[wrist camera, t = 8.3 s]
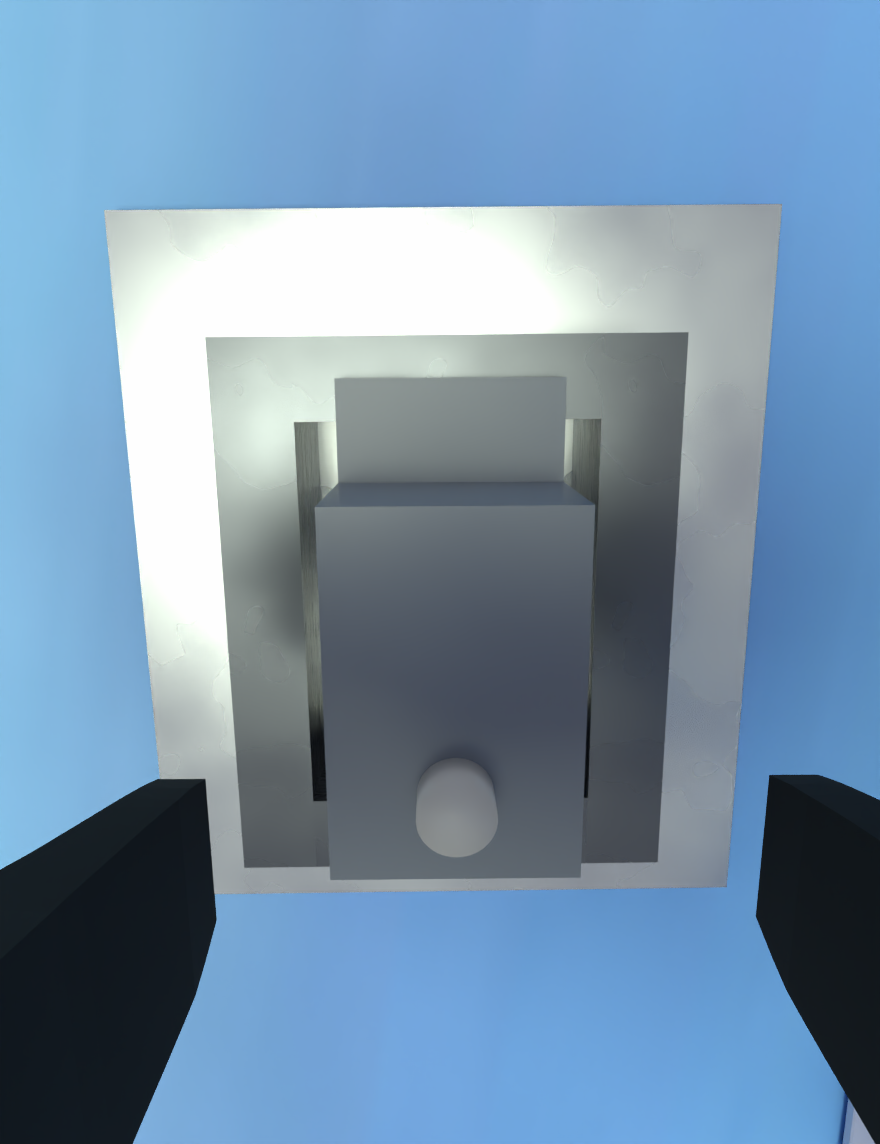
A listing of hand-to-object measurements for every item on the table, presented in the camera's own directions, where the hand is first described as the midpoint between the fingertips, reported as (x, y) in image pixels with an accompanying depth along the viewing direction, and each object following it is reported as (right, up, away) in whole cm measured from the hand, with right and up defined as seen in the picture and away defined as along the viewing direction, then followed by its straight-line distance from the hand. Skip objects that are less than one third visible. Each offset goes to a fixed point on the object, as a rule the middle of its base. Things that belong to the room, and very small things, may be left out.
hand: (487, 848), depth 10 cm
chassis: (0, +3, +9) cm, 9 cm away
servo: (0, +3, +8) cm, 9 cm away
